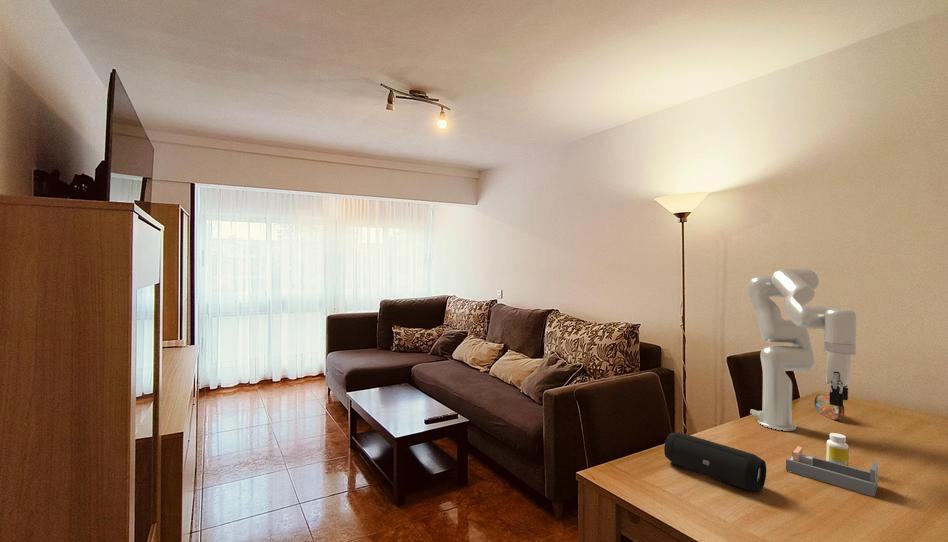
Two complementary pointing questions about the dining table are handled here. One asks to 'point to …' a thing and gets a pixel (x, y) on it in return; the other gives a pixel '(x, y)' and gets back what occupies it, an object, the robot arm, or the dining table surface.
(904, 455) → the dining table surface
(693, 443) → the portable speaker
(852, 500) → the dining table surface
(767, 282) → the robot arm
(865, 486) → the pusher lane
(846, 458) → the supplement bottle
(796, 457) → the spring paddle
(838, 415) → the multicoloured flat oval piece
